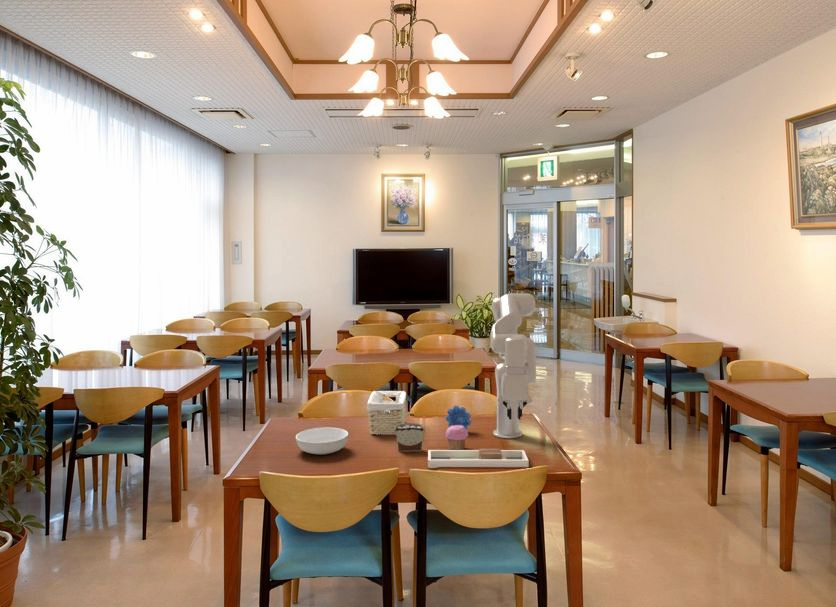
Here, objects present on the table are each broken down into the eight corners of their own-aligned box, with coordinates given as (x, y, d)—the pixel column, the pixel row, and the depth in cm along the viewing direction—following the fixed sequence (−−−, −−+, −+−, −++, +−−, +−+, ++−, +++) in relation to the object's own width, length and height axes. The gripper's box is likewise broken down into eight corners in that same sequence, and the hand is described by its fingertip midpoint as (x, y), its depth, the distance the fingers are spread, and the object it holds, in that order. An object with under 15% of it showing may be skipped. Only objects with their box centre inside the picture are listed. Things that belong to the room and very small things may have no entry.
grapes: (448, 435, 278) (448, 408, 277) (444, 431, 285) (444, 404, 284) (474, 433, 280) (474, 406, 279) (469, 429, 287) (469, 403, 286)
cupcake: (471, 448, 260) (471, 424, 259) (461, 454, 253) (461, 429, 252) (452, 445, 265) (451, 421, 264) (441, 450, 257) (441, 426, 256)
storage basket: (403, 436, 278) (403, 402, 277) (366, 436, 279) (366, 402, 277) (407, 421, 302) (406, 390, 301) (372, 421, 303) (372, 390, 301)
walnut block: (479, 458, 246) (479, 448, 245) (500, 458, 245) (500, 448, 245) (480, 464, 240) (480, 453, 239) (501, 464, 239) (501, 453, 239)
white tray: (428, 457, 249) (428, 450, 249) (523, 457, 248) (523, 450, 248) (428, 468, 237) (427, 460, 237) (528, 468, 236) (528, 460, 236)
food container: (424, 446, 263) (424, 422, 263) (425, 451, 257) (425, 426, 256) (394, 446, 263) (394, 422, 262) (394, 451, 257) (394, 426, 256)
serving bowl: (291, 446, 264) (291, 430, 263) (341, 441, 271) (341, 425, 271) (301, 462, 244) (300, 444, 244) (354, 455, 252) (354, 438, 251)
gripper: (535, 368, 243) (534, 416, 244) (492, 368, 243) (491, 416, 245) (538, 372, 235) (537, 421, 237) (494, 372, 236) (493, 421, 237)
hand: (514, 418), depth 241 cm, fingers open, 2 cm apart
